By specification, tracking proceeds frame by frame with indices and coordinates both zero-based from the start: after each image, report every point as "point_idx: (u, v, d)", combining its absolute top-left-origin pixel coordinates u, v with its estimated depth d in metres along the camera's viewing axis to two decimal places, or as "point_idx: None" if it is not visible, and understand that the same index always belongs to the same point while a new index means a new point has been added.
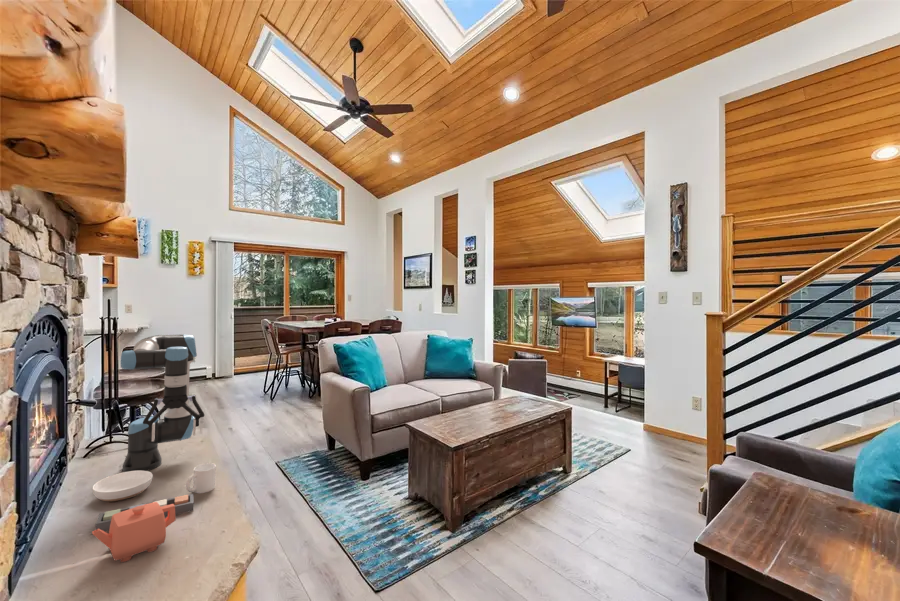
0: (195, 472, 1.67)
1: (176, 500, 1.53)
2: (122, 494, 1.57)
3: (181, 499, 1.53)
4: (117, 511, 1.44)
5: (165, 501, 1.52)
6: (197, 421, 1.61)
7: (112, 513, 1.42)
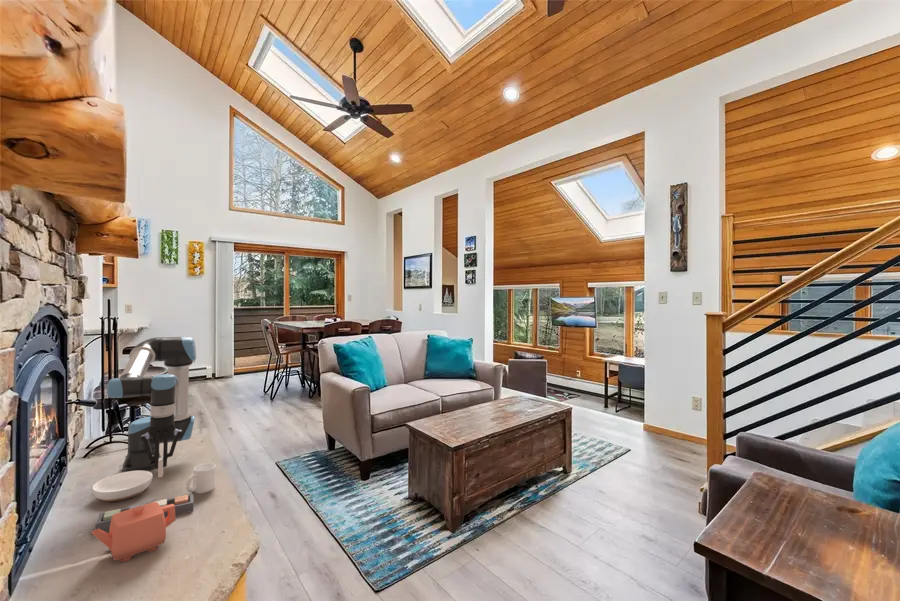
0: (195, 472, 1.67)
1: (176, 500, 1.53)
2: (122, 494, 1.57)
3: (181, 499, 1.53)
4: (117, 511, 1.44)
5: (165, 501, 1.52)
6: (165, 461, 1.50)
7: (112, 513, 1.42)
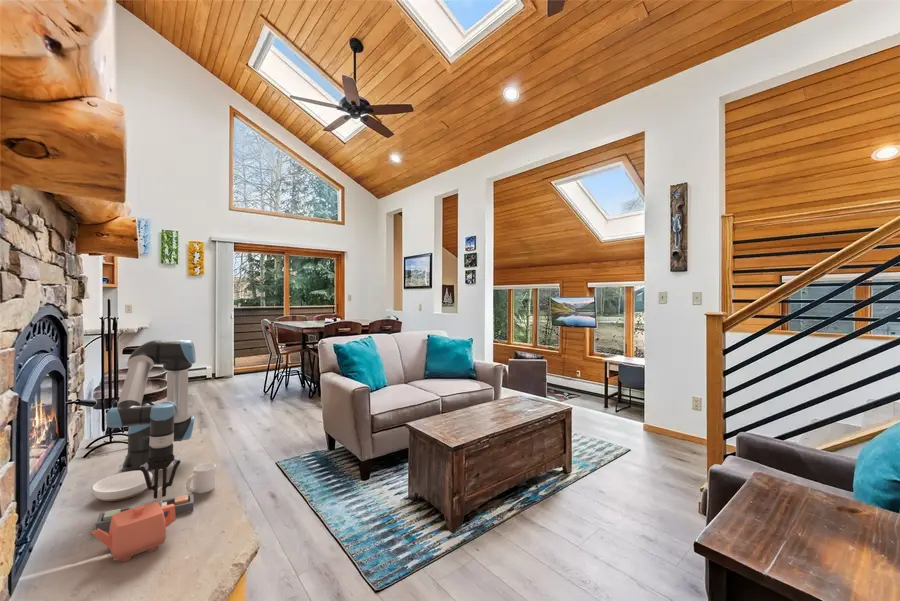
0: (195, 472, 1.67)
1: (176, 500, 1.53)
2: (122, 494, 1.57)
3: (181, 499, 1.53)
4: (117, 511, 1.44)
5: (165, 504, 1.52)
6: (164, 491, 1.50)
7: (112, 513, 1.42)
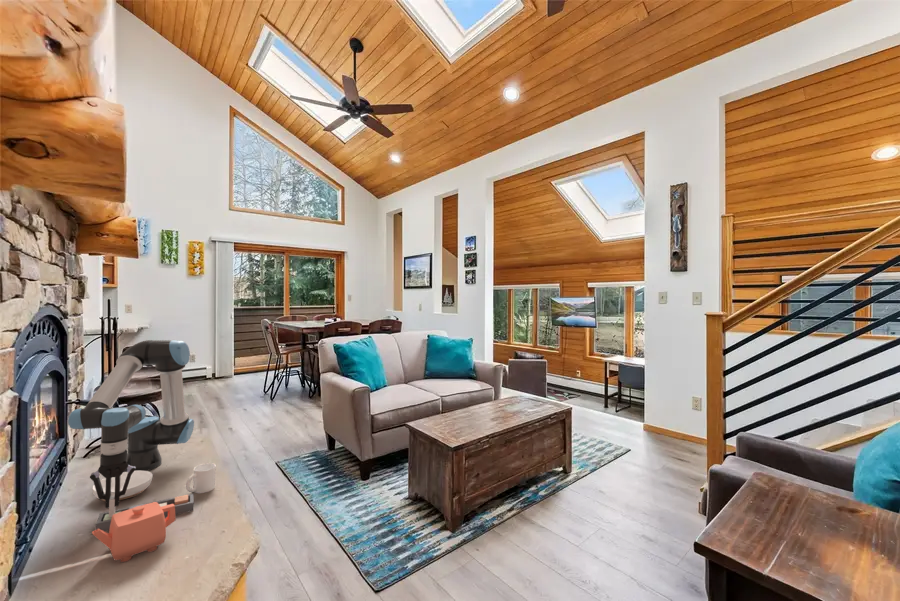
0: (195, 472, 1.67)
1: (176, 500, 1.53)
2: None
3: (181, 499, 1.53)
4: None
5: None
6: (117, 500, 1.43)
7: None
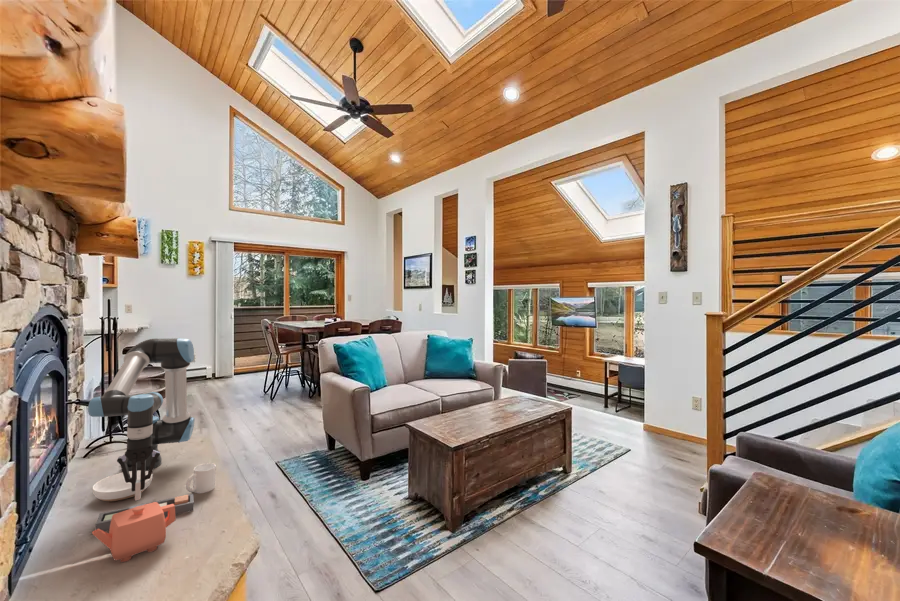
0: (195, 472, 1.67)
1: (176, 500, 1.53)
2: (122, 494, 1.57)
3: (181, 499, 1.53)
4: None
5: (165, 505, 1.52)
6: (142, 484, 1.47)
7: None
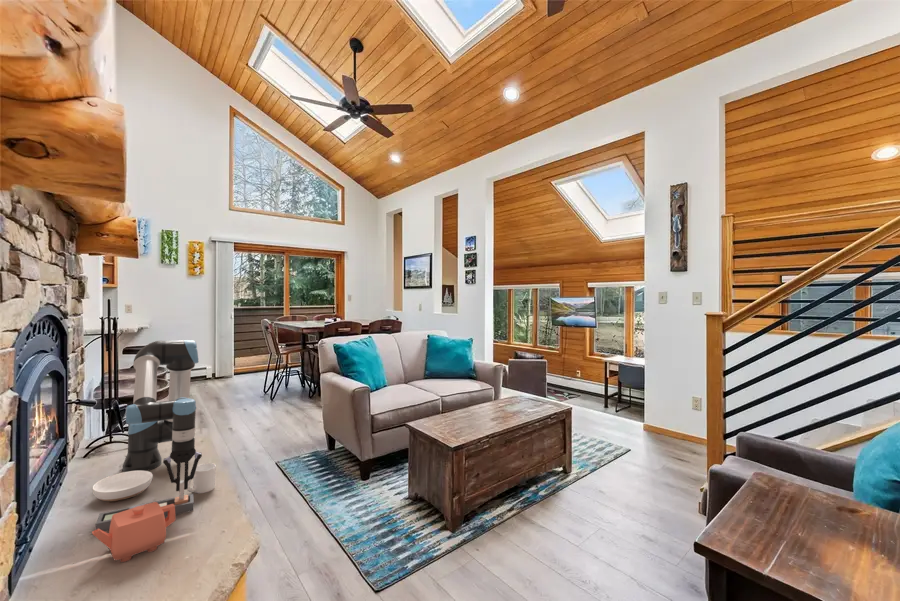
0: (195, 472, 1.67)
1: (176, 500, 1.53)
2: (122, 494, 1.57)
3: None
4: None
5: (165, 505, 1.52)
6: (186, 484, 1.54)
7: None
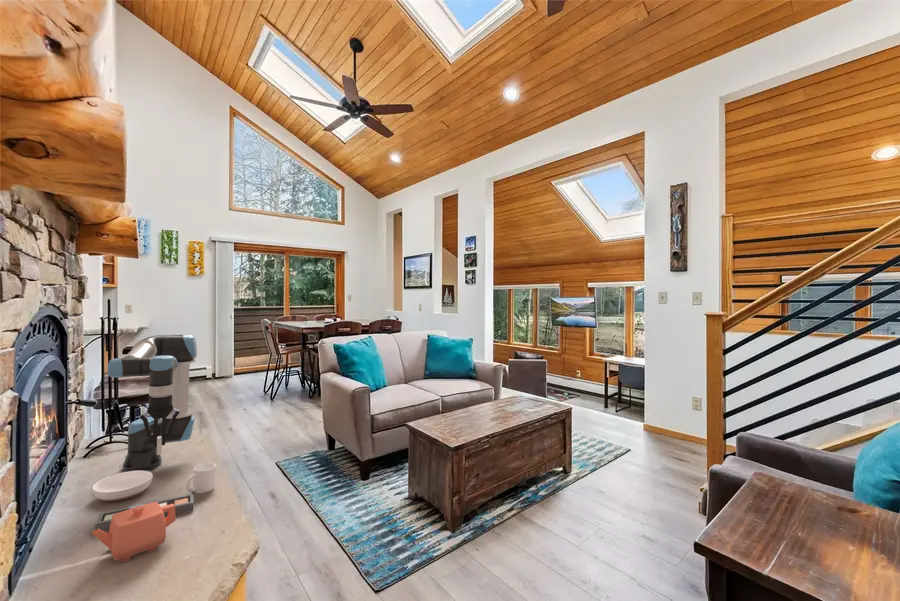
0: (195, 472, 1.67)
1: (176, 503, 1.53)
2: (122, 494, 1.57)
3: (181, 502, 1.53)
4: None
5: None
6: (163, 439, 1.55)
7: None
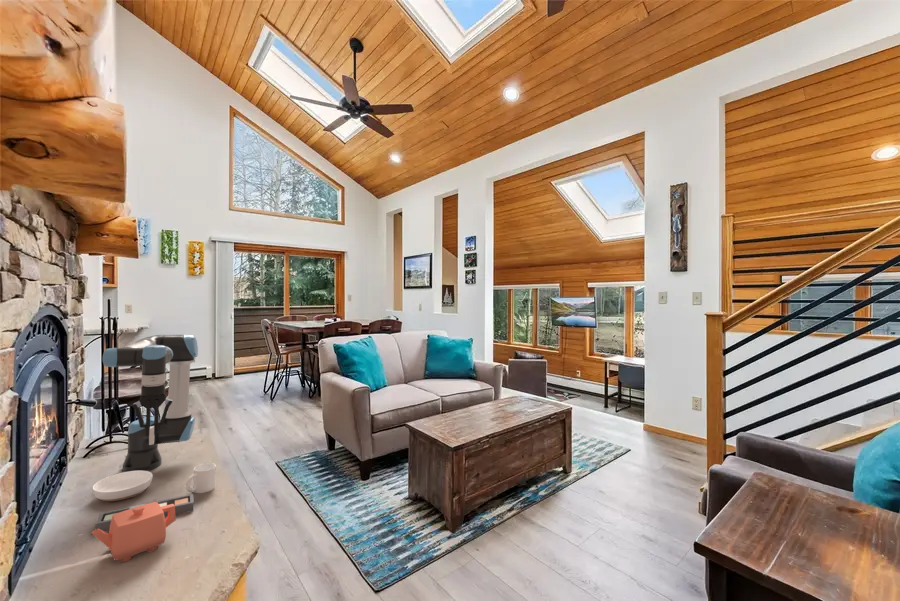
0: (195, 472, 1.67)
1: (176, 503, 1.53)
2: (122, 494, 1.57)
3: (181, 502, 1.53)
4: None
5: (165, 505, 1.52)
6: (156, 429, 1.54)
7: None
